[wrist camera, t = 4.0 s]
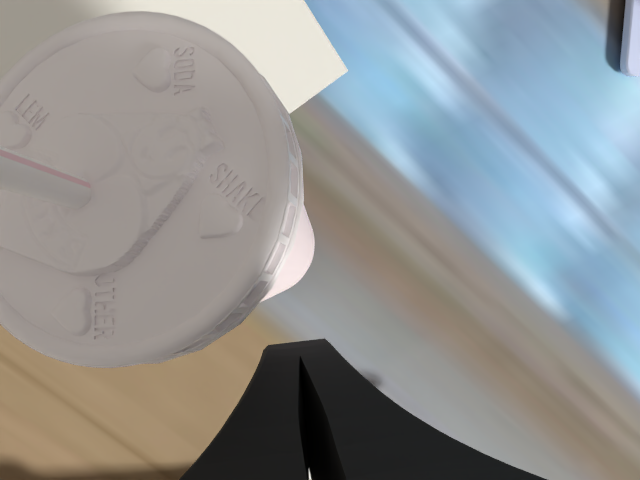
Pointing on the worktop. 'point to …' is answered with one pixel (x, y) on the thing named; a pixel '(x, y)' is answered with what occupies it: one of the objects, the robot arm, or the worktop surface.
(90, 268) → the smoothie
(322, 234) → the worktop surface
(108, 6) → the mat
